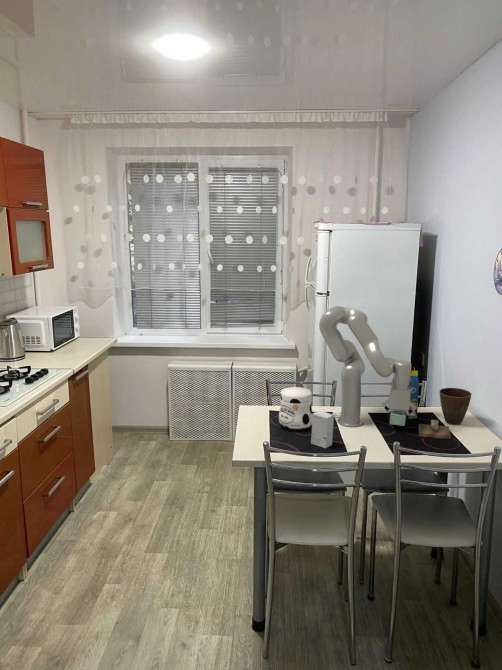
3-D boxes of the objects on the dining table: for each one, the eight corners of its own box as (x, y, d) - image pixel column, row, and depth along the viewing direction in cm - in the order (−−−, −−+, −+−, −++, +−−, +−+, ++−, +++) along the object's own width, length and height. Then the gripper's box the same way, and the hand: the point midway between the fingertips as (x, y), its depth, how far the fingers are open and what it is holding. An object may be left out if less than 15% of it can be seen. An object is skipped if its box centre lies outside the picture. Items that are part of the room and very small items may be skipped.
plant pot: (470, 429, 249) (472, 398, 246) (437, 426, 254) (439, 395, 251) (468, 418, 263) (470, 389, 260) (437, 415, 268) (439, 386, 264)
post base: (419, 436, 242) (419, 424, 241) (418, 426, 254) (419, 415, 253) (450, 439, 239) (451, 426, 237) (448, 429, 250) (449, 417, 249)
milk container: (275, 431, 251) (275, 396, 247) (282, 418, 267) (282, 385, 263) (311, 433, 247) (311, 398, 243) (315, 420, 263) (315, 387, 259)
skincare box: (310, 444, 235) (311, 413, 232) (318, 439, 240) (318, 409, 236) (326, 448, 230) (327, 417, 227) (333, 444, 234) (334, 413, 231)
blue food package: (390, 414, 270) (392, 369, 265) (413, 414, 270) (416, 369, 265) (393, 419, 264) (395, 372, 259) (417, 419, 264) (419, 372, 258)
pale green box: (389, 423, 248) (390, 414, 247) (389, 418, 255) (390, 409, 253) (404, 426, 246) (405, 416, 245) (404, 420, 253) (405, 411, 252)
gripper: (382, 386, 245) (378, 421, 249) (420, 390, 240) (416, 426, 244) (382, 381, 252) (379, 415, 256) (419, 386, 247) (415, 420, 251)
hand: (397, 420), depth 250 cm, fingers closed on pale green box, 7 cm apart
